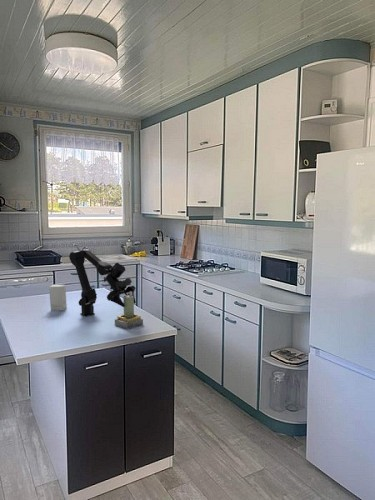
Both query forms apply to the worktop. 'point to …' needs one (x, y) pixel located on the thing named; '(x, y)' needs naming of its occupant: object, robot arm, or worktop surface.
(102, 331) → the worktop surface
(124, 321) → the grey and tan tray
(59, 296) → the skincare box
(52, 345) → the worktop surface
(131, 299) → the green and white bottle
